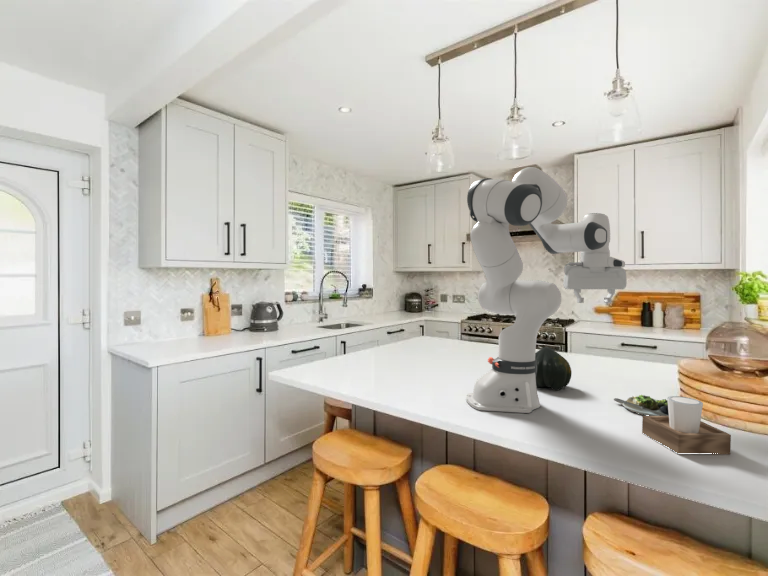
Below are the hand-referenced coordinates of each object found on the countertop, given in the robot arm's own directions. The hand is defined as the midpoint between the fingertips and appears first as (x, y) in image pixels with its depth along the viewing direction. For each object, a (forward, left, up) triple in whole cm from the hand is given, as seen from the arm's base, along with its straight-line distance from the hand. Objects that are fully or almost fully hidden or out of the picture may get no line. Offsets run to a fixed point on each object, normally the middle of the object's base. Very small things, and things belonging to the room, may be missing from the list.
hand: (594, 302), depth 133 cm
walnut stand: (0, -40, -31) cm, 51 cm away
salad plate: (+10, -18, -32) cm, 38 cm away
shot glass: (0, -40, -28) cm, 49 cm away
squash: (-12, +8, -31) cm, 34 cm away
